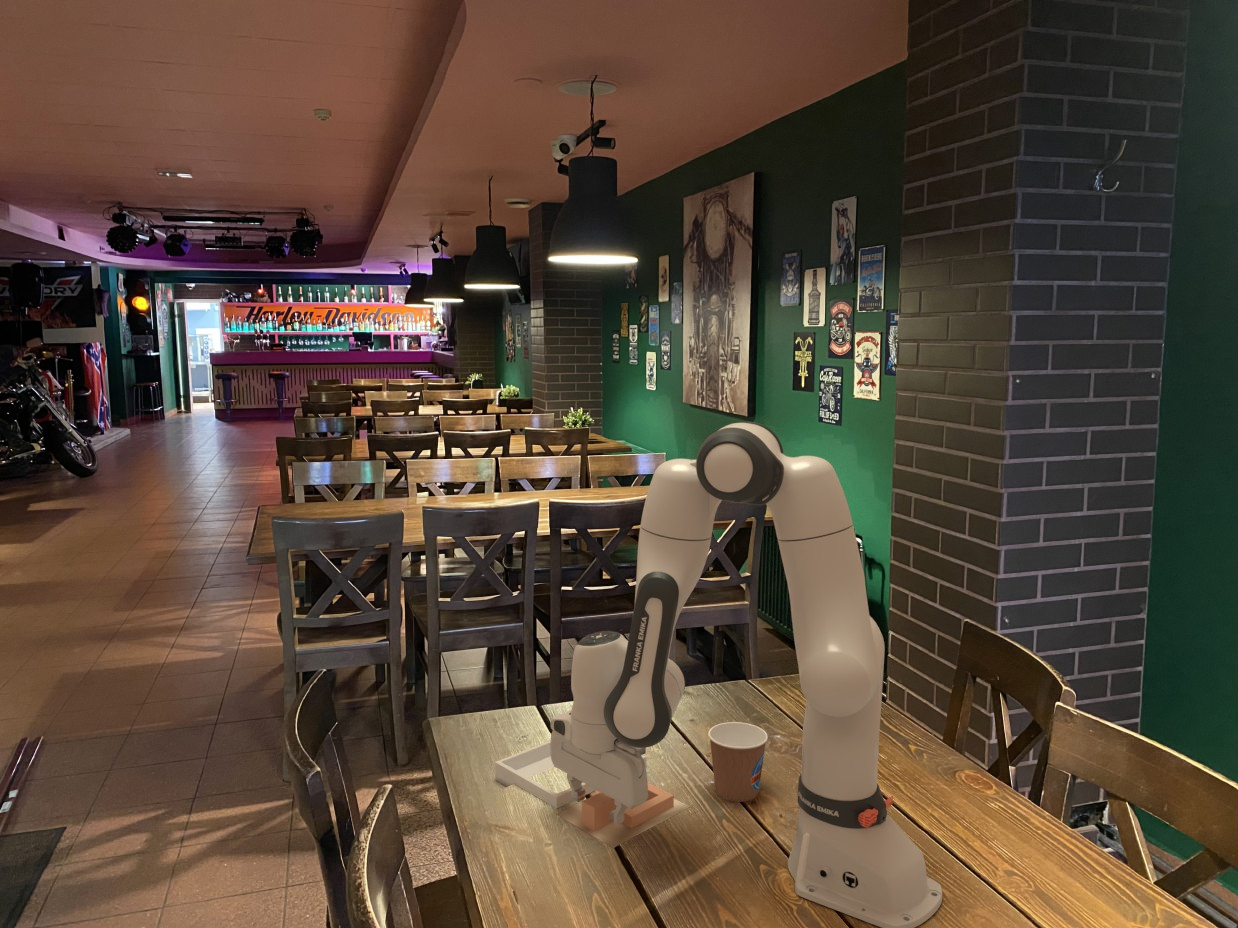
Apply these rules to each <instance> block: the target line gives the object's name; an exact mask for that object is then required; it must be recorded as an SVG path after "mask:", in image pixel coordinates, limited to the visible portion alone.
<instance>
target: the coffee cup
mask: <svg viewBox="0 0 1238 928" xmlns="http://www.w3.org/2000/svg"><path fill="white" fill-rule="evenodd" d="M707 733H708V734H707V735H708V738H709V741H710V742H709V743H710V751H711V753H710V754H711V760H712V770H713V779H714V780H713V781H714V788H715V793H716V795H718V797H719V798H722V799H724V800H727V801H730V802H736V803H737V802H741V803H742V802H743V803H744V802H749V801H752V800H754V799H755V798H757V797H758V794H759V791H760V790H759V789H760V784H761V777H762V771H763V764H764V756H765V751H766V750H765V749H766V742H767V741H768V739H769V738H768V734H767V732H766V731H765V730H764V729H763V728H762V727H759V726H757V725H754V724H753V723H748V722H747V723H746V722H739V721H731V722H729V721H728V722H721V723H719V724H716V725H713V726H712V727H711V728H709V730H708V732H707Z"/></svg>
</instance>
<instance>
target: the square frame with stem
mask: <svg viewBox="0 0 1238 928" xmlns="http://www.w3.org/2000/svg"><path fill="white" fill-rule="evenodd" d="M589 795H590V797H587V798H585V799H584V800H582V801H581V802H582V825H584V826H586V827H587V828H589V829H591V830H593V831H596V830H598V829H600V828H602V827H604V826H606V825H608V824H610V823H612V821H610V818H611V816H610V812H611V811H613V810H615V809H616V808H617V806H616V805H615V800H614V799H612V798H610V797H608V796H607V795H605V794H603V793H601V792H600V791H598V790H596V791H594V792H592V793H589ZM674 799H675V796H674V795H673V794H671V793H670V792H668V791H666V790H664V789H661V788H660V787H658V786H656V785H654V784H652V783H650V782H648V798H647V799H646V800H647V801H646V802H644V803H642V804H640V805H638V806H636V807H634V808H632V809H631V808H628V807H627V809H626V810H625V812H624V821H623V822H622V823H623V824H625V825H626V826H628V827H630V828H633V827H635V826H637V825H639V824H641V823H643V822H645V821H647V820H649V819H651V818H653V817H654V816H656V815H658V814H660V813H662V812H664V811H666V810H668V809H670V808H672V807H674Z"/></svg>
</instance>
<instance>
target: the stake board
mask: <svg viewBox="0 0 1238 928" xmlns="http://www.w3.org/2000/svg"><path fill="white" fill-rule="evenodd" d="M635 748H636V749H638V751H639V753H640V755H645V754H646V753H647V752H646V751H647V750H646V748H647V747H646V748H637V747H635ZM646 801H647V800H646ZM646 801H645V802H646ZM689 808H691V806H690V805H689V804H685V803H684V802H681V801H680V800H678V799H676V798H674V807H672V808H670V809H668V810H666V811H664V812H662V813H660V814H658V815H656V816H654V817H653V818H651V819H649V820H647V821H645V822H643V823H641V824H639V825H637V826H635V827H633V828H630V827H628V826H626V825H625V824H623V823H620V824H618V825H617V824H615V823H614V822H612V823H610V824H608V825H606V826H604V827H602V828H600V829H598V830H596V831H593V830H591V829H589V828H587V827H586V826H584V825H582V801H580V802H578V803H576V804H574V805H572V806H568V807H567V808H565V809H562V810H561V811H559V812H556V813H555V814H556V815H557V816H558V817H560V818H562V819H563V820H565V821H567V822H569V823H570V824H572V825H573V826H575V827H576V828H579V829H580V830H582V831H584V832H585V833H587V834H588V835H590V836H592V837H594V838H595V839H596V840H598V841H601V842H602V843H604V844H605V845H607V846H609V847H611V848H612V849H614V848H616V847H618V846H620V845H622V844H624V843H625V842H627V841H629V840H631V839H633V838H635V837H636V836H639V835H640V834H642V833H644V832H646V831H649V829H651V828H654V827H655V826H657V825H659V824H661V823H663V822H665V821H667V820H669V819H670V818H673V817H674V816H676V815H678V814H679V813H681V812H683V811H685V810H687V809H689ZM631 809H632V808H631Z"/></svg>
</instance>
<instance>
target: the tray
mask: <svg viewBox="0 0 1238 928" xmlns="http://www.w3.org/2000/svg"><path fill="white" fill-rule="evenodd" d="M550 742H551V739H550V740H548V741H546V742H543V743H540V744H538V745H535V746H532V747H529V748H527V749H525V750H522V751H520V752H517V753H514V754H512V755H509V756H507V757H504V758H502V759H499V760H497V761H495V762H494V771H495V773H494V774H495V776H494V778H495V781H496V782H498V783H499V784H501V785H503V786H505V787H510V786H512V785H516V786H517V787H519V788H521V789H523V790H524V791H525V792H527V793H528V794H531V795H533V796H535V797H536V798H538V799H540V800H541V801H543V802H544V803H546V804H548V805H549V806H551V807H553V808H555V809H559V808H561V807H563V806H566V805H568V804H570V803H573V802H574V801H575V800H574V799H572V789H571V787H570V788H568V789H565V790H563V791H561V792H558V793H557V792H554V791H553V790H551V789H549V788H548V787H546V786H544V785H542V784H541V783H539V782H537V781H535V780H533V779H532V777H534V776H536V775H539V774H541V773H543V772H546V771H549V770H550V769H553V768H556V767H555V766H554V765H553V763H552V760H551V754H550ZM641 756H642V758H643V759H644V763H645V766H646V767H647V756H646V755H645V754H643V755H641ZM581 784H582V788H584V789H585V796H587V795H590V794H592V793H594V792H597V790H596V789H594V788H592V787H590V786H589V785H587V784H585V783H583V782H581Z"/></svg>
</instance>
